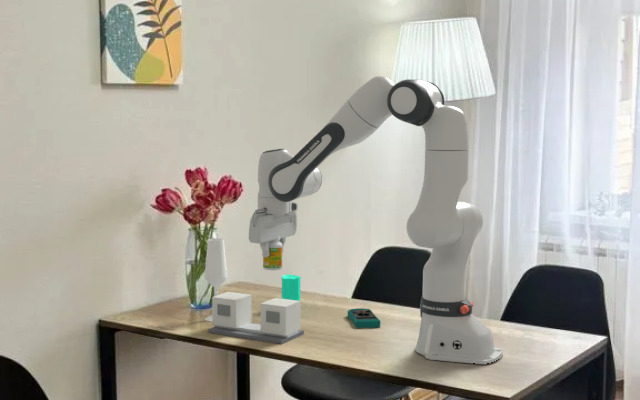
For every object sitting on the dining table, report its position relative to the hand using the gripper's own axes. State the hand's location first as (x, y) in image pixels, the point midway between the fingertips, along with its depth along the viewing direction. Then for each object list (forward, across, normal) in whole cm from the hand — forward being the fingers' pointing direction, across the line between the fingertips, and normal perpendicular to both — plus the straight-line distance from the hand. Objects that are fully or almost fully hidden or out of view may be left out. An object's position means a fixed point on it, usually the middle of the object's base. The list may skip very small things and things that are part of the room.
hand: (272, 255), depth 255 cm
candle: (+22, +24, +8) cm, 33 cm away
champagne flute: (+22, +2, +21) cm, 30 cm away
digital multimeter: (+22, +21, -18) cm, 36 cm away
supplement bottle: (+4, 0, 0) cm, 4 cm away
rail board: (+22, -6, +2) cm, 22 cm away
